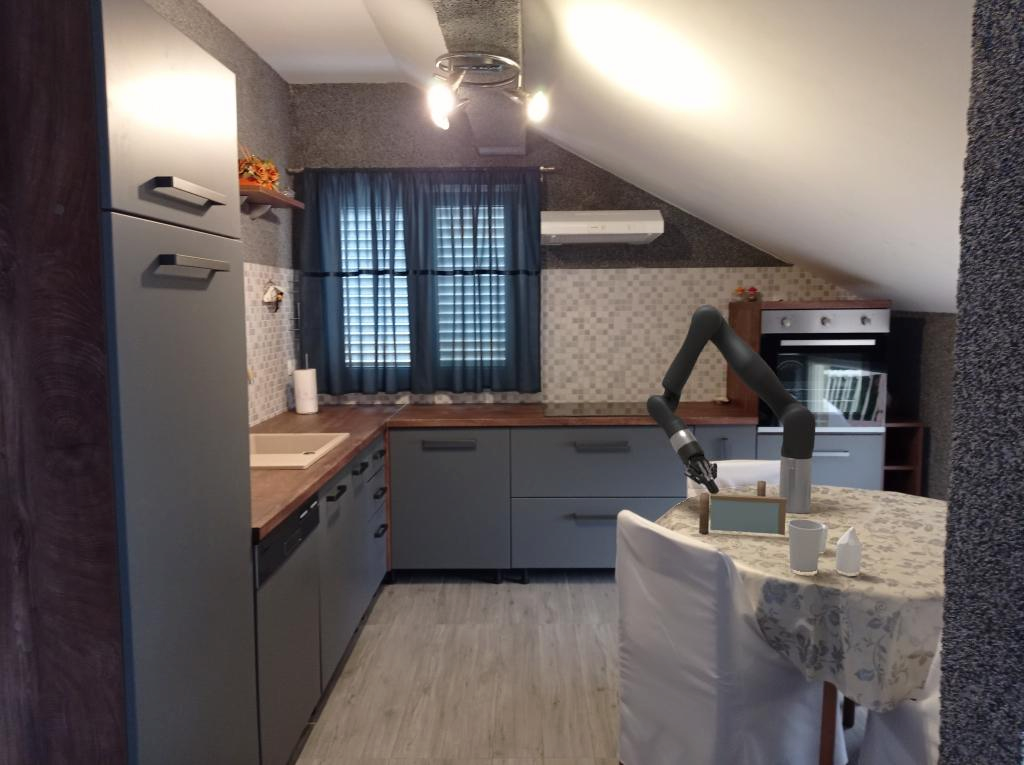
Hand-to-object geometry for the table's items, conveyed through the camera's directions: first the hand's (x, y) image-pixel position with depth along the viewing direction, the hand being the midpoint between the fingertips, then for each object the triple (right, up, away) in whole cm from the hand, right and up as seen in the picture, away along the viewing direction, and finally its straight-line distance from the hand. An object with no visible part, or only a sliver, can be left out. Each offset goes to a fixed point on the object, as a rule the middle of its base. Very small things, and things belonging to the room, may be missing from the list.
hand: (715, 493), depth 213 cm
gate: (+5, -9, -14) cm, 17 cm away
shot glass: (+18, -11, -26) cm, 34 cm away
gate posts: (+3, -9, -6) cm, 11 cm away
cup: (+10, -13, -40) cm, 43 cm away
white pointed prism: (+20, -13, -41) cm, 48 cm away
